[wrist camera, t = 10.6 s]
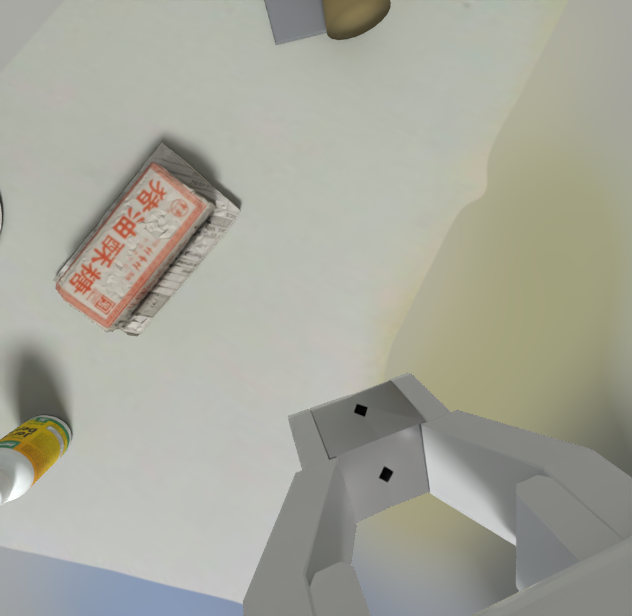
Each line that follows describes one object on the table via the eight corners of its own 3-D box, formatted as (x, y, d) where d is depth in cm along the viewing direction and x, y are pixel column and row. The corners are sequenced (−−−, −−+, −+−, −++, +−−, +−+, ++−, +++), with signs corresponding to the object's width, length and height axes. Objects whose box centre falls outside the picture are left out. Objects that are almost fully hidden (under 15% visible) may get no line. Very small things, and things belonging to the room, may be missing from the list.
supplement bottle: (38, 464, 39) (-39, 535, 29) (11, 424, 37) (-77, 485, 28) (83, 445, 39) (21, 510, 29) (58, 405, 38) (-14, 459, 28)
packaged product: (120, 350, 33) (25, 284, 31) (140, 337, 38) (59, 279, 36) (238, 207, 32) (148, 128, 30) (243, 211, 36) (166, 144, 34)
